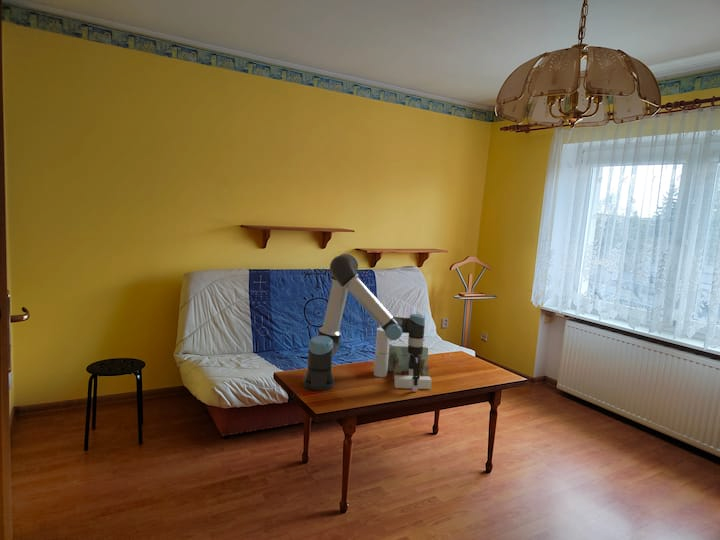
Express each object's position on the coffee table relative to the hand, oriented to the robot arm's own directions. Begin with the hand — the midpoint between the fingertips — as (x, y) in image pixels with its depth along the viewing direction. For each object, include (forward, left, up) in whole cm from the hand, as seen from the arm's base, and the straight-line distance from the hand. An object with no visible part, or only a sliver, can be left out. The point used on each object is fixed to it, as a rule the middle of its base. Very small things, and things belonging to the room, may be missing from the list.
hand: (412, 386), depth 234 cm
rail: (0, 0, -1) cm, 1 cm away
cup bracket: (0, +14, 0) cm, 14 cm away
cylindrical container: (-15, +15, 0) cm, 21 cm away
